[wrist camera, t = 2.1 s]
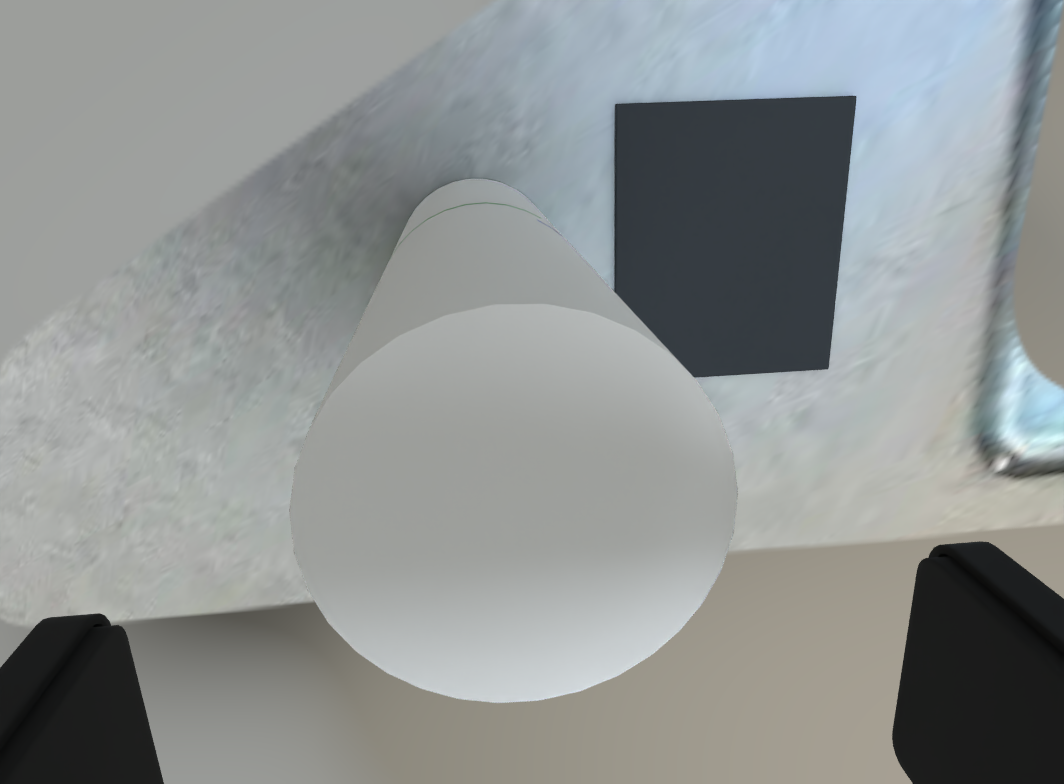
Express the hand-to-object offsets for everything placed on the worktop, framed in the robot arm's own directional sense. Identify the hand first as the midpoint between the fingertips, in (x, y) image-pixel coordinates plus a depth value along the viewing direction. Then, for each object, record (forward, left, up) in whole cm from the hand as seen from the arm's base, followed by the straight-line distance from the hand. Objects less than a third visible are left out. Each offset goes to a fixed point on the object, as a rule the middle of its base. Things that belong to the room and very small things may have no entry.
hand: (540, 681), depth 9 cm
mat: (0, +12, -28) cm, 31 cm away
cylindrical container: (0, 0, -29) cm, 29 cm away
